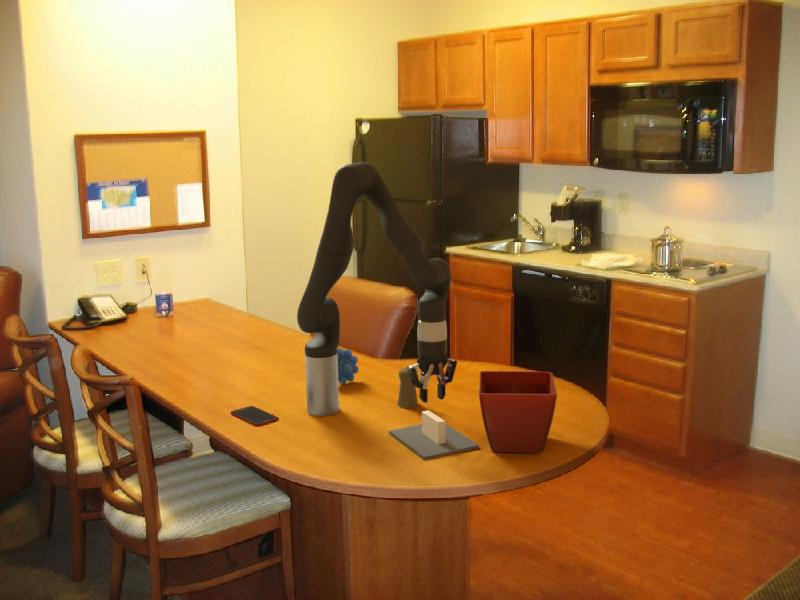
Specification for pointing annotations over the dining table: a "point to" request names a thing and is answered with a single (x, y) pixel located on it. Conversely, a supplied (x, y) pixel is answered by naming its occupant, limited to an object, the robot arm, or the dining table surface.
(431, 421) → the card box
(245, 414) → the cell phone
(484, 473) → the dining table surface
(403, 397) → the cork
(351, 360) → the grapes
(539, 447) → the plant pot
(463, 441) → the mat
